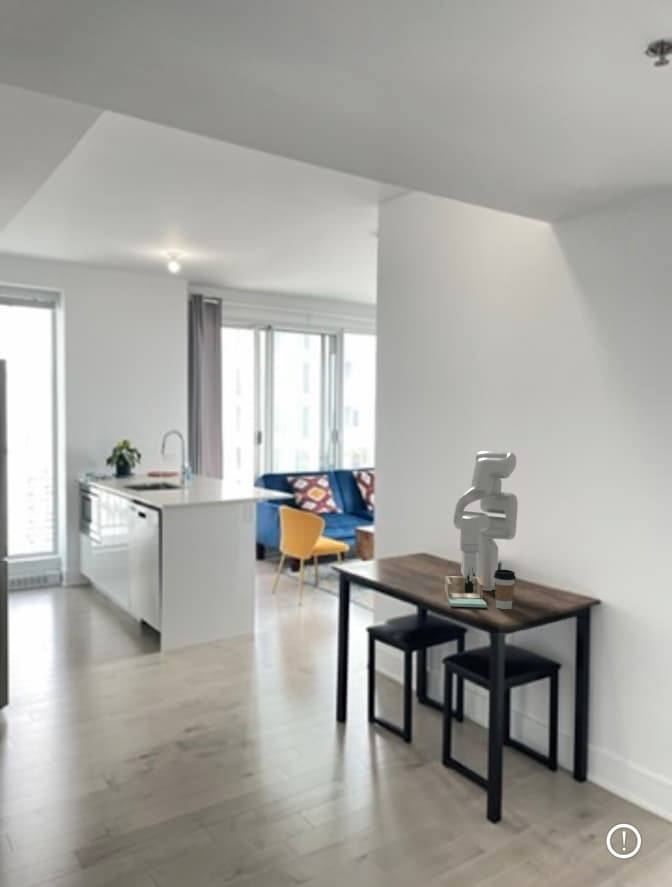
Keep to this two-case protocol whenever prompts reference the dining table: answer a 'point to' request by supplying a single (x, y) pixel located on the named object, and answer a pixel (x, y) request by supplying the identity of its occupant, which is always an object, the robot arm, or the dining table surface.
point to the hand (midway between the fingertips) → (468, 592)
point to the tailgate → (467, 602)
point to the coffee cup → (504, 588)
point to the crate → (462, 588)
